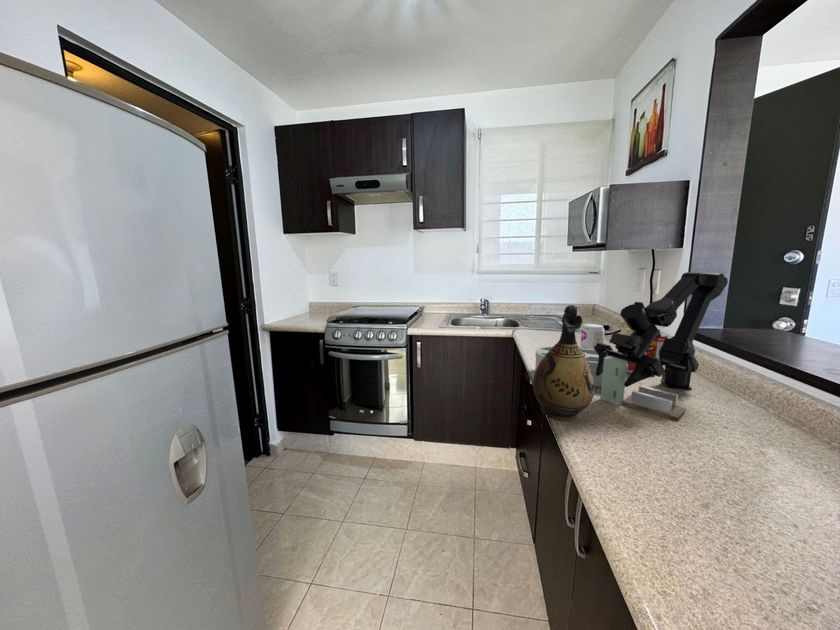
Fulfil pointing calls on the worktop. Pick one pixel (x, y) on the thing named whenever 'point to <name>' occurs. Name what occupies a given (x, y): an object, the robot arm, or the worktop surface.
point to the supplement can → (591, 336)
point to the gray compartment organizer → (589, 355)
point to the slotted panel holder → (655, 402)
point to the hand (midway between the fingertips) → (610, 380)
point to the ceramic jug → (564, 374)
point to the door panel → (613, 380)
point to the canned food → (656, 346)
